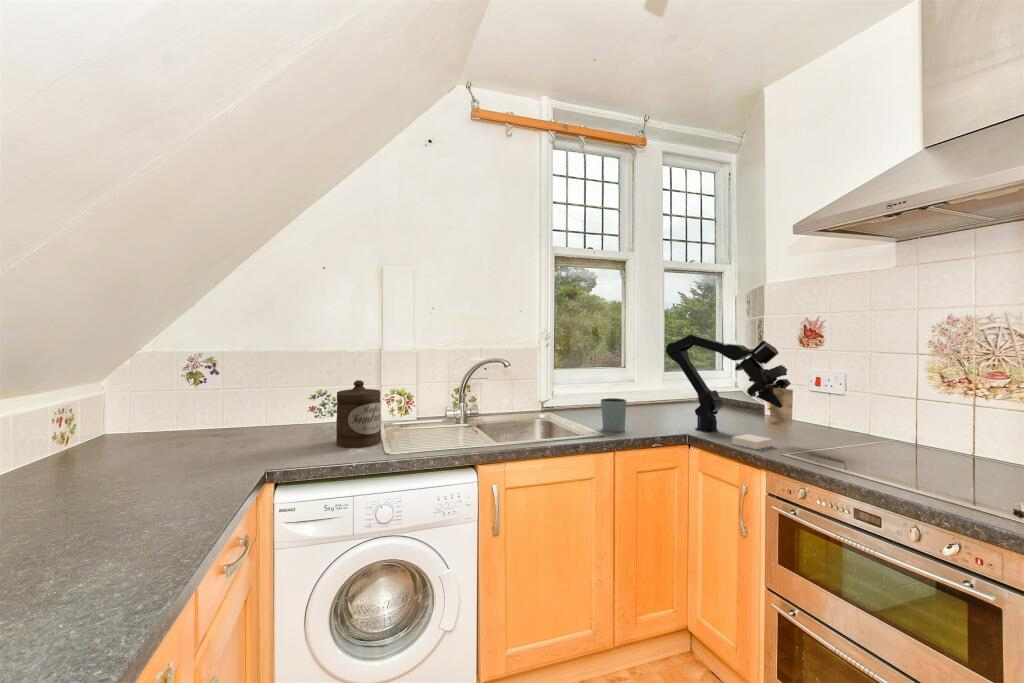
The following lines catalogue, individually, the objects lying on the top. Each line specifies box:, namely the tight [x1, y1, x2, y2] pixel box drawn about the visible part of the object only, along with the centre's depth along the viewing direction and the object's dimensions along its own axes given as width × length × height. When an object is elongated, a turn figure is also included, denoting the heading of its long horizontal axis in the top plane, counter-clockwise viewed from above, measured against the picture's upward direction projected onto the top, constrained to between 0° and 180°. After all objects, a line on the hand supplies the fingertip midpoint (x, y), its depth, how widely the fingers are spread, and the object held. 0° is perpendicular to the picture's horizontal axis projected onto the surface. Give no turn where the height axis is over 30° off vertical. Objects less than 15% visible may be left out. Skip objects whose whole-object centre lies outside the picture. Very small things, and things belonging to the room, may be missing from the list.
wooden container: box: [335, 379, 382, 449], centre depth 167 cm, size 15×15×22 cm
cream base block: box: [731, 433, 774, 450], centre depth 165 cm, size 9×9×3 cm
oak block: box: [769, 388, 794, 428], centre depth 167 cm, size 5×5×12 cm
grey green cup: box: [600, 397, 627, 433], centre depth 191 cm, size 10×10×12 cm
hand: (785, 406), depth 166 cm, fingers closed on oak block, 5 cm apart
